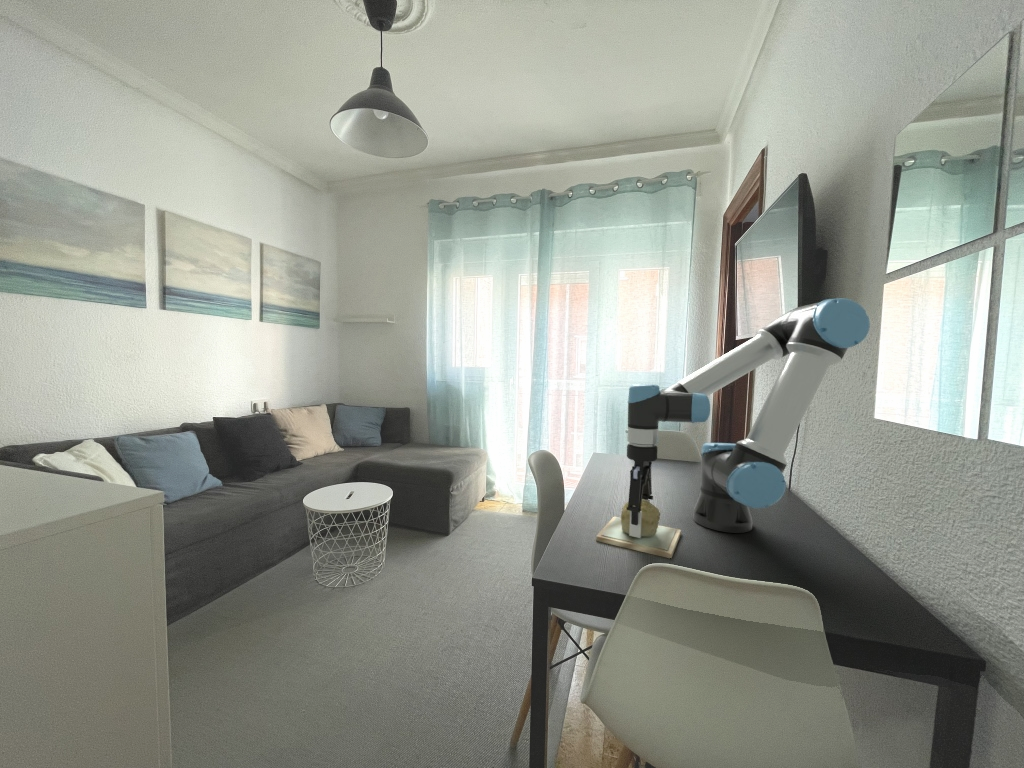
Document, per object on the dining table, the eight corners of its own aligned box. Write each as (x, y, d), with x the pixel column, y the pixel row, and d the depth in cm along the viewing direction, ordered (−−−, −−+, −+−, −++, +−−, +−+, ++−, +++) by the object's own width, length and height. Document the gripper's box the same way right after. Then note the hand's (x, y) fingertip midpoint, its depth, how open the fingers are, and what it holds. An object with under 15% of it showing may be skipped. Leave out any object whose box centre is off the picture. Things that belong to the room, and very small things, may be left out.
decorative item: (624, 548, 102) (640, 526, 96) (609, 514, 109) (622, 492, 103) (656, 544, 105) (673, 523, 99) (639, 511, 112) (654, 489, 106)
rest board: (680, 534, 107) (680, 529, 107) (671, 558, 93) (671, 552, 93) (613, 520, 116) (613, 515, 116) (596, 540, 102) (596, 535, 102)
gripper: (637, 436, 115) (634, 513, 115) (615, 449, 96) (613, 541, 97) (664, 439, 111) (662, 519, 112) (648, 453, 92) (645, 549, 93)
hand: (639, 529), depth 104 cm, fingers closed on decorative item, 9 cm apart
